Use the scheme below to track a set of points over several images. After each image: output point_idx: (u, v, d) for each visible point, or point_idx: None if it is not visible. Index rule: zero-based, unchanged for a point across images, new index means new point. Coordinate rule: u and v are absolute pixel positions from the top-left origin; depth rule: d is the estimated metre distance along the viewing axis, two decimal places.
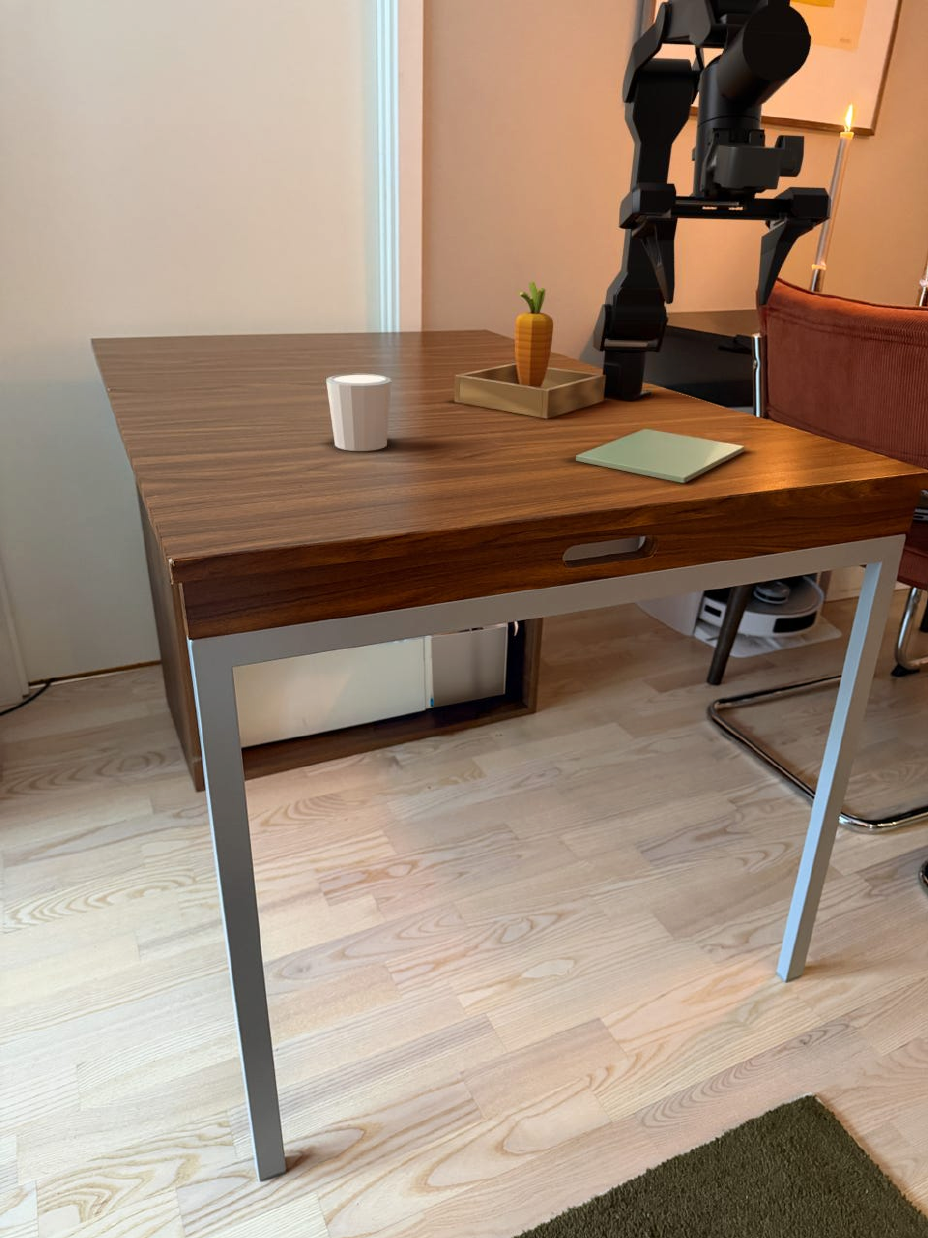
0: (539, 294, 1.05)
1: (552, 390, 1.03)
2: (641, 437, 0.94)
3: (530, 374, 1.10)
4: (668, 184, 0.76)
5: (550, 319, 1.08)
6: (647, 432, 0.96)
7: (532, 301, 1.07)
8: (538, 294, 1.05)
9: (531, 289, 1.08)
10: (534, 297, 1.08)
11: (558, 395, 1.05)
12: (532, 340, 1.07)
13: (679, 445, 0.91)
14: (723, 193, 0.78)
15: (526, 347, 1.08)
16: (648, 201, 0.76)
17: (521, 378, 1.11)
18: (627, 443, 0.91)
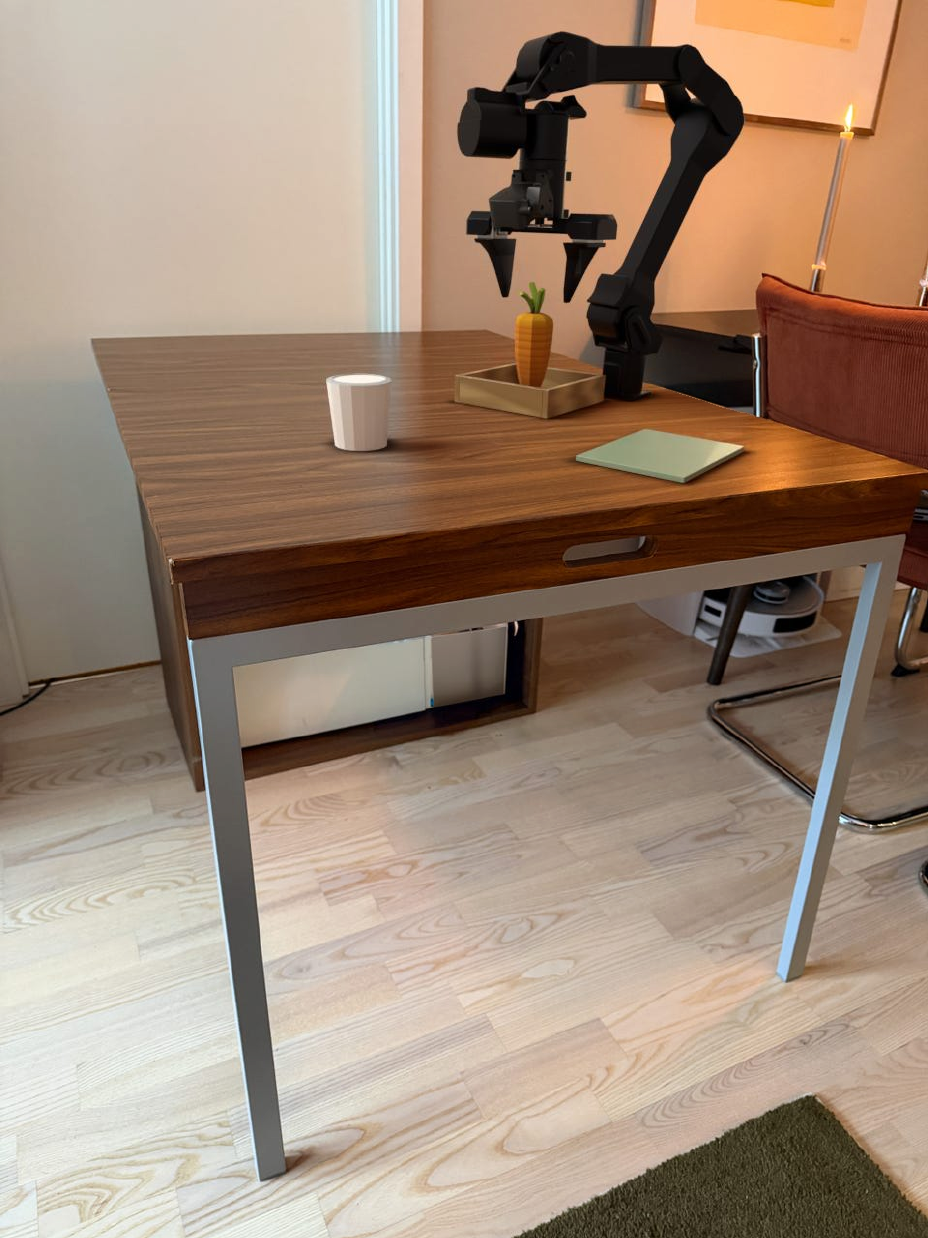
0: (539, 294, 1.05)
1: (552, 390, 1.03)
2: (641, 437, 0.94)
3: (530, 374, 1.10)
4: (489, 212, 1.04)
5: (550, 319, 1.08)
6: (647, 432, 0.96)
7: (532, 301, 1.07)
8: (538, 294, 1.05)
9: (531, 289, 1.08)
10: (534, 297, 1.08)
11: (558, 395, 1.05)
12: (532, 340, 1.07)
13: (679, 445, 0.91)
14: None
15: (526, 347, 1.08)
16: (472, 226, 1.05)
17: (521, 378, 1.11)
18: (627, 443, 0.91)
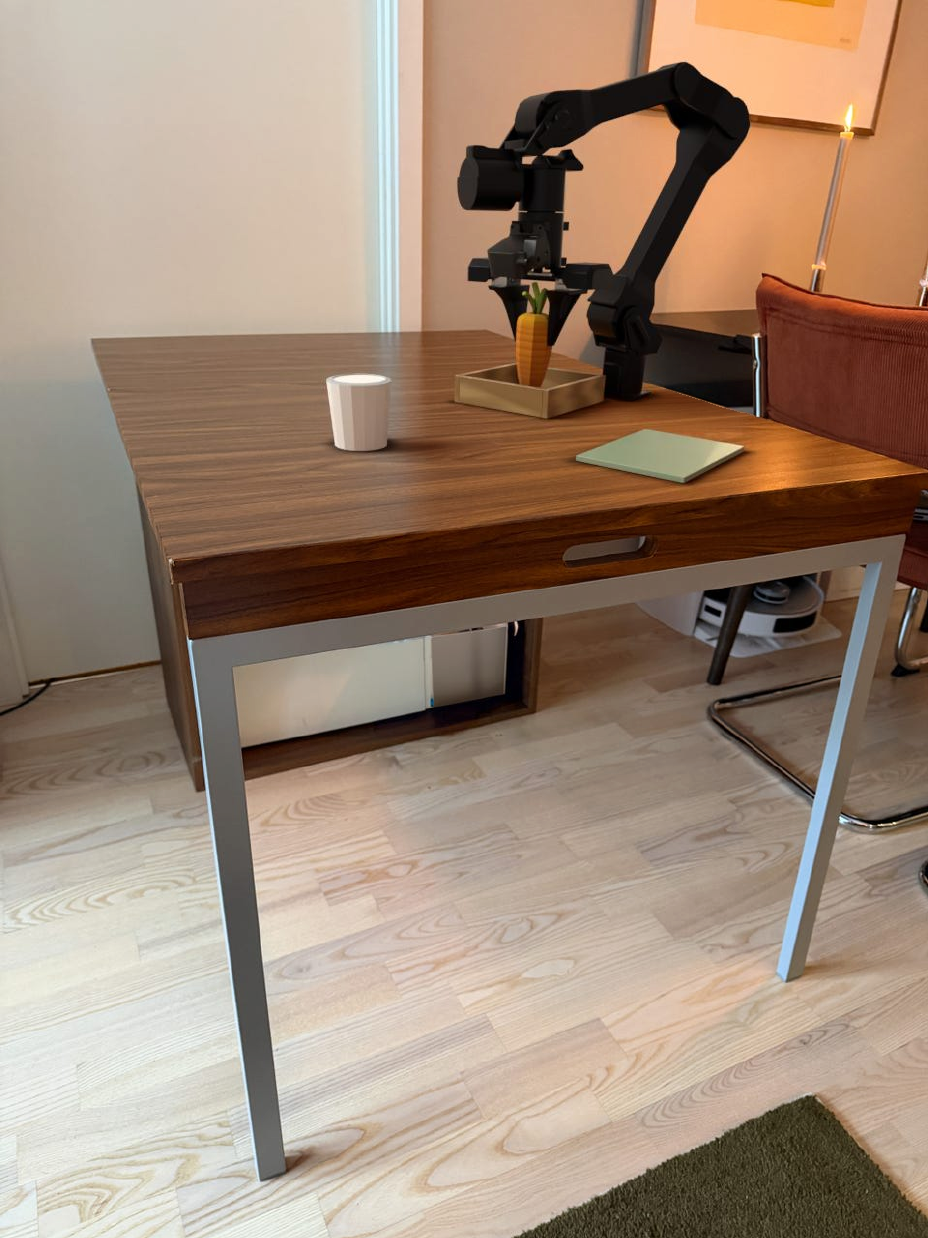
0: (542, 295, 1.05)
1: (552, 390, 1.03)
2: (641, 437, 0.94)
3: (530, 374, 1.10)
4: None
5: None
6: (647, 432, 0.96)
7: (534, 301, 1.07)
8: (541, 295, 1.05)
9: (534, 289, 1.07)
10: (536, 297, 1.08)
11: (558, 395, 1.05)
12: (534, 340, 1.07)
13: (679, 445, 0.91)
14: None
15: (527, 347, 1.08)
16: (473, 274, 1.08)
17: (521, 378, 1.11)
18: (627, 443, 0.91)
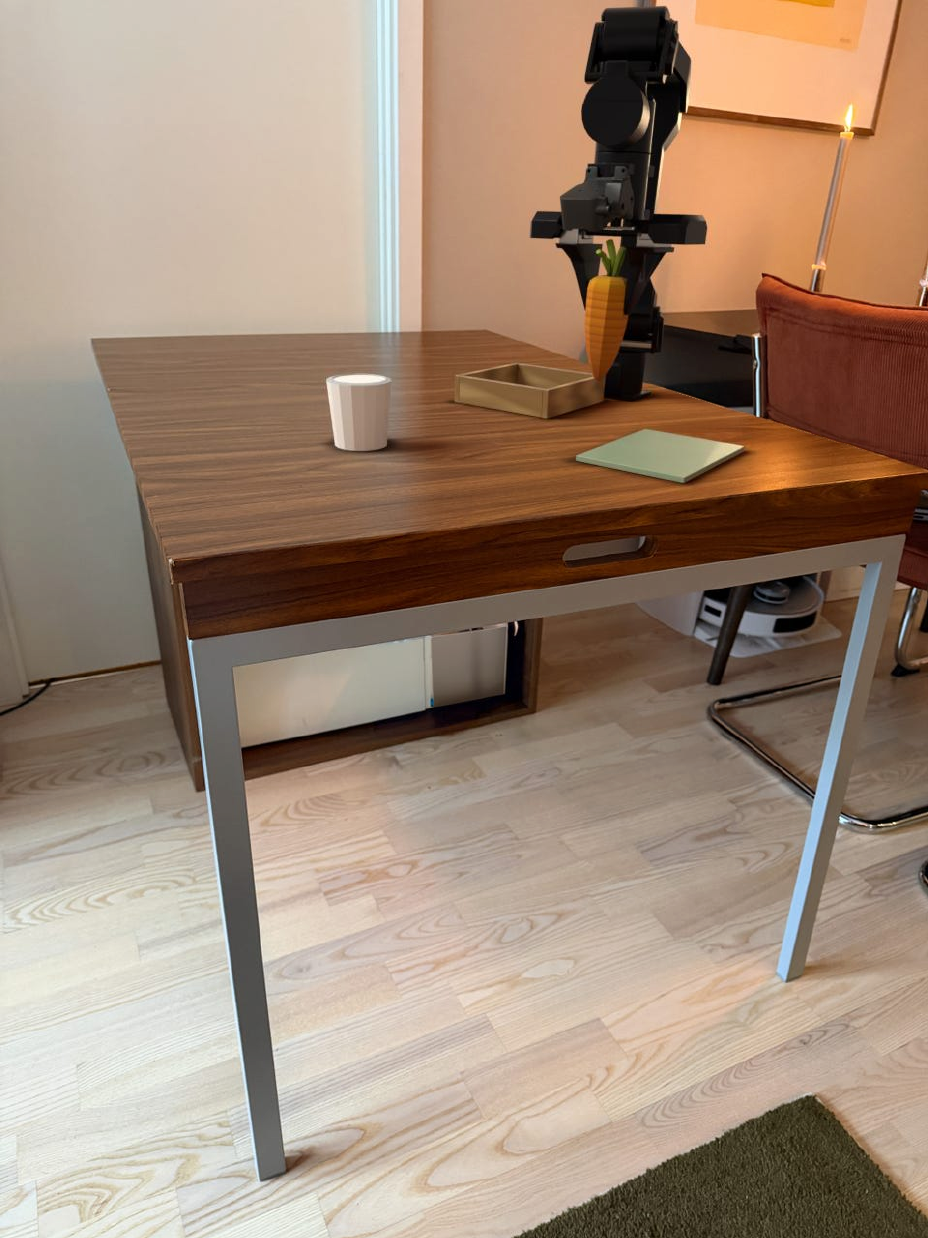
0: (620, 253, 0.89)
1: (552, 390, 1.03)
2: (641, 437, 0.94)
3: (601, 348, 0.94)
4: (557, 212, 0.91)
5: None
6: (647, 432, 0.96)
7: (610, 262, 0.91)
8: (619, 253, 0.89)
9: (609, 247, 0.91)
10: (612, 257, 0.91)
11: (558, 395, 1.05)
12: (608, 307, 0.91)
13: (679, 445, 0.91)
14: None
15: (599, 316, 0.92)
16: (537, 229, 0.92)
17: (590, 353, 0.95)
18: (627, 443, 0.91)
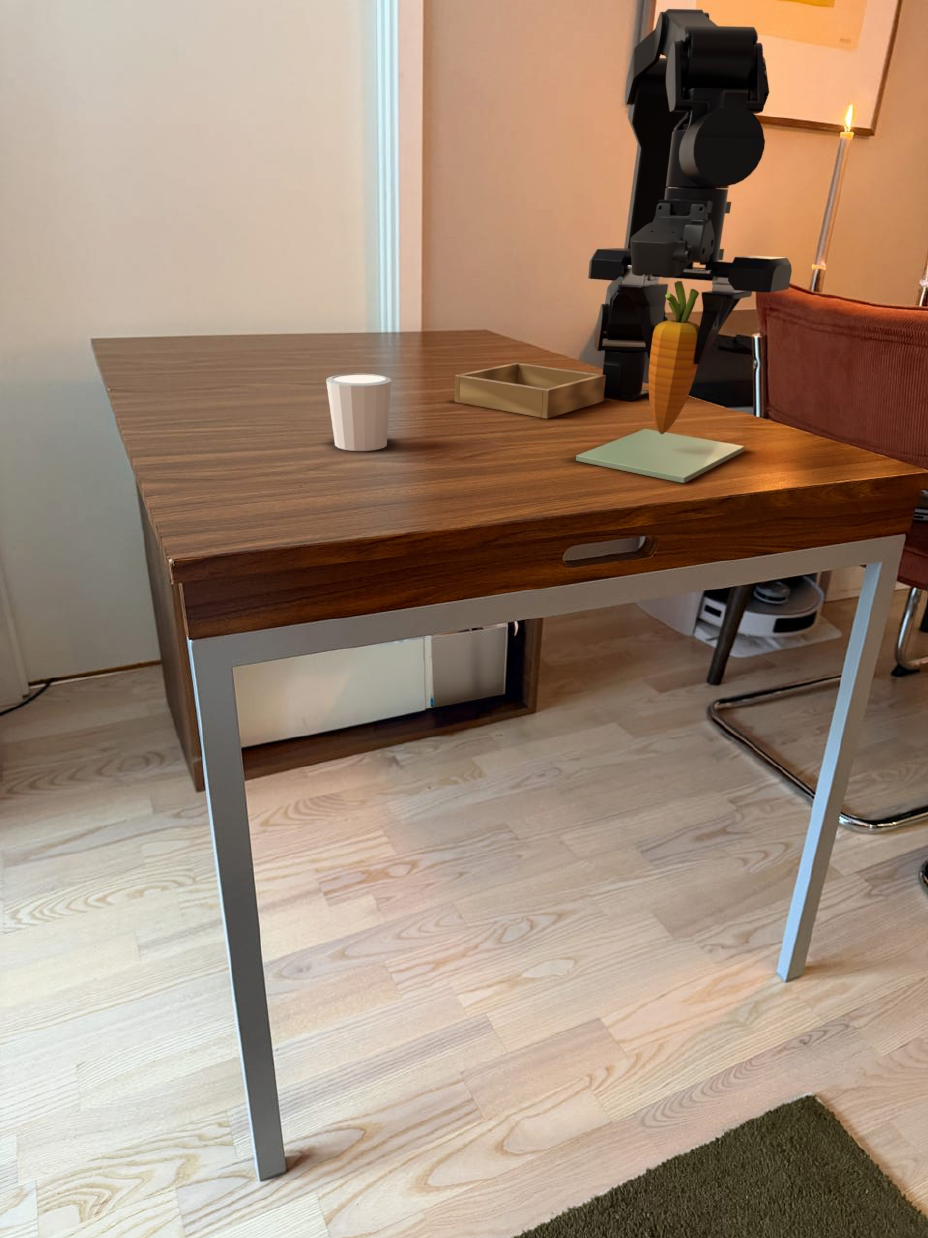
0: (692, 298, 0.80)
1: (552, 390, 1.03)
2: (641, 437, 0.94)
3: (668, 400, 0.85)
4: (621, 252, 0.82)
5: None
6: (647, 432, 0.96)
7: (679, 306, 0.82)
8: (691, 298, 0.80)
9: (678, 290, 0.82)
10: (681, 301, 0.83)
11: (558, 395, 1.05)
12: (678, 357, 0.82)
13: (679, 445, 0.91)
14: None
15: (667, 366, 0.83)
16: (598, 269, 0.83)
17: (655, 405, 0.86)
18: (627, 443, 0.91)
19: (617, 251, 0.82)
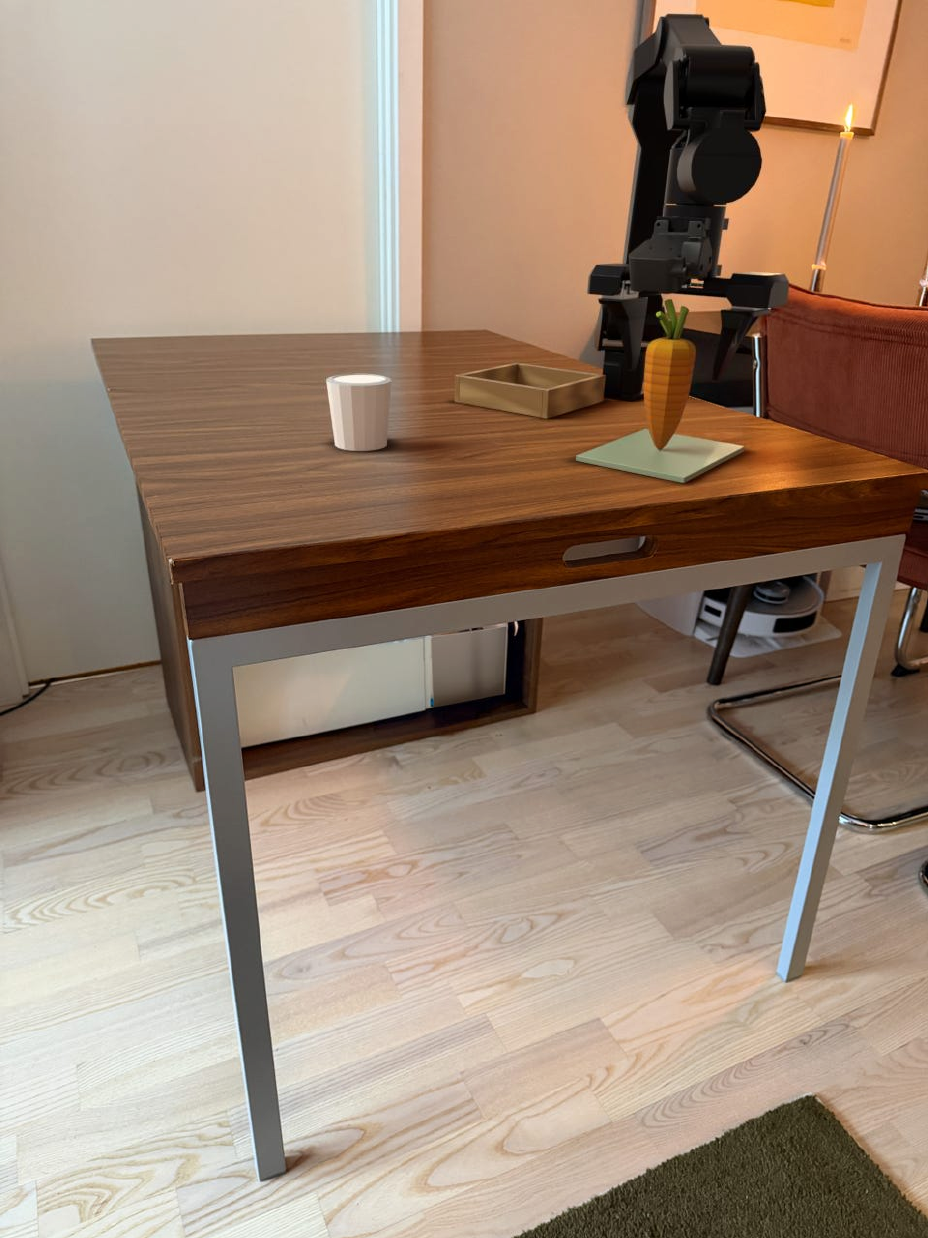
0: (683, 315, 0.81)
1: (552, 390, 1.03)
2: (641, 437, 0.94)
3: (664, 416, 0.86)
4: (620, 267, 0.83)
5: (693, 346, 0.84)
6: (647, 432, 0.96)
7: (670, 324, 0.83)
8: (681, 315, 0.81)
9: (668, 308, 0.84)
10: (672, 318, 0.84)
11: (558, 395, 1.05)
12: (671, 373, 0.83)
13: (679, 445, 0.91)
14: None
15: (661, 382, 0.84)
16: (596, 285, 0.84)
17: (652, 421, 0.87)
18: (627, 443, 0.91)
19: (616, 267, 0.83)
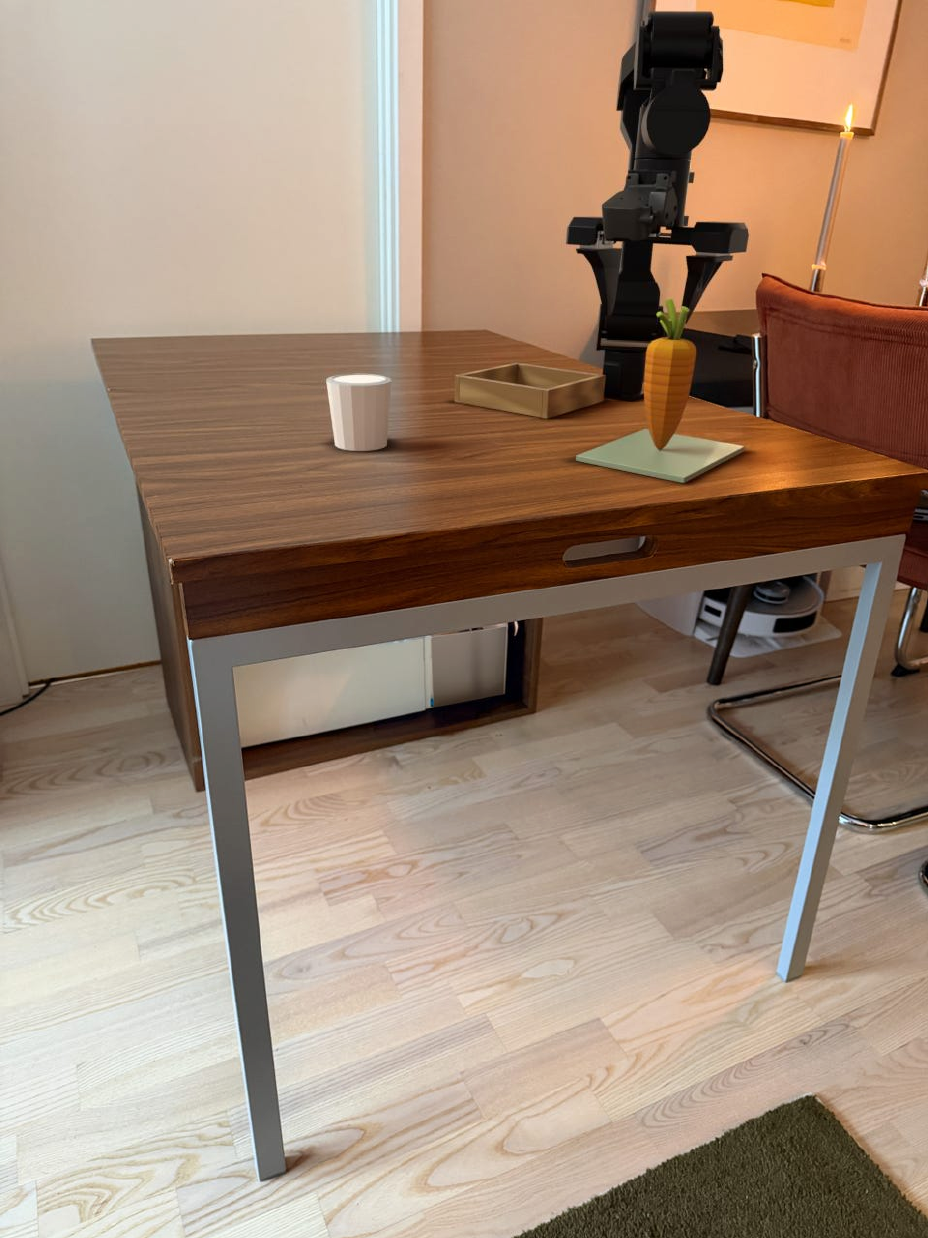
0: (683, 315, 0.81)
1: (552, 390, 1.03)
2: (641, 437, 0.94)
3: (664, 416, 0.86)
4: (595, 219, 0.90)
5: (693, 346, 0.84)
6: (647, 432, 0.96)
7: (671, 324, 0.83)
8: (682, 315, 0.81)
9: (669, 308, 0.84)
10: (672, 318, 0.84)
11: (558, 395, 1.05)
12: (672, 373, 0.83)
13: (679, 445, 0.91)
14: None
15: (662, 382, 0.84)
16: (574, 235, 0.91)
17: (652, 421, 0.87)
18: (627, 443, 0.91)
19: (592, 218, 0.90)
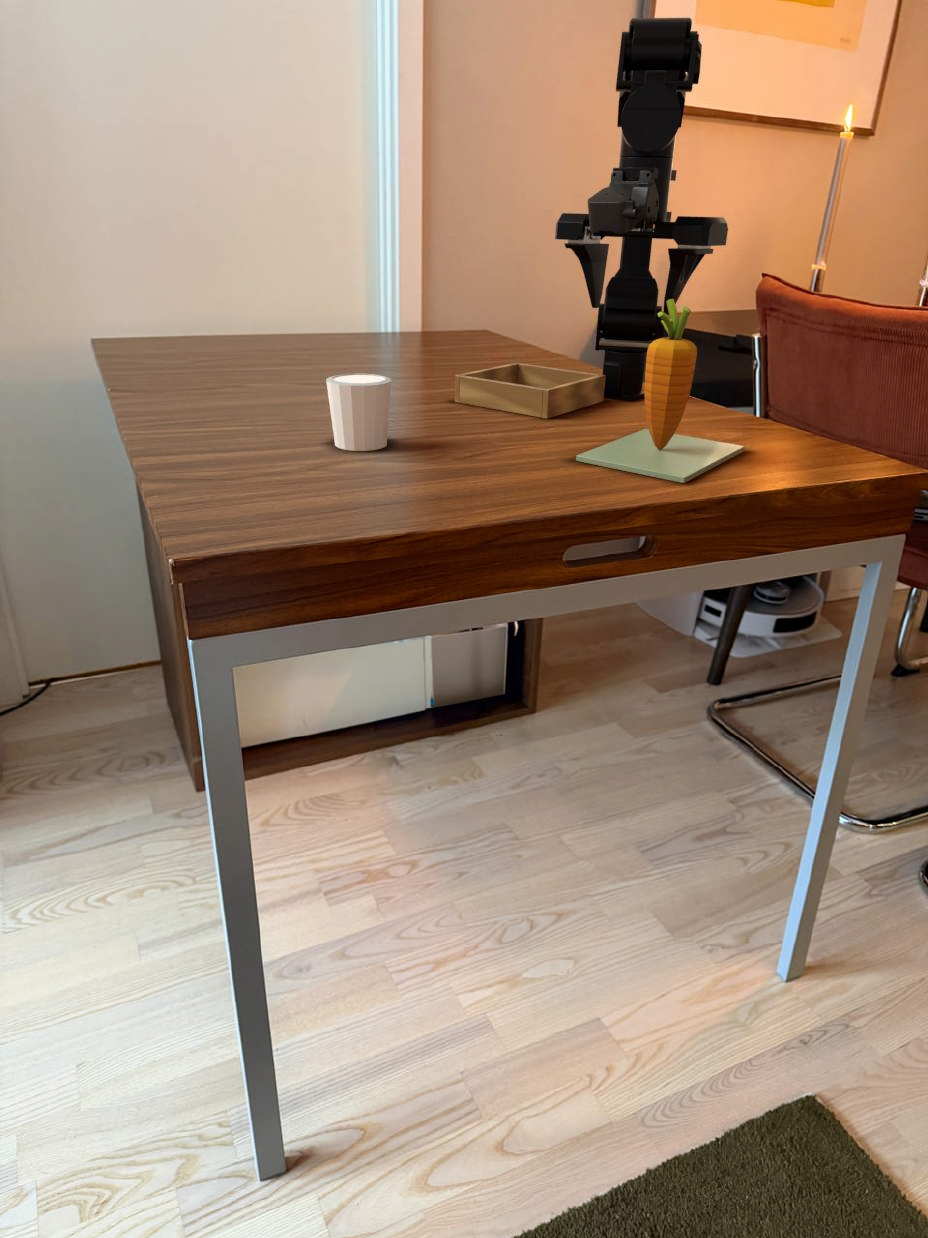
0: (684, 315, 0.81)
1: (552, 390, 1.03)
2: (641, 437, 0.94)
3: (665, 416, 0.86)
4: (582, 214, 0.94)
5: (694, 347, 0.84)
6: (647, 432, 0.96)
7: (672, 324, 0.83)
8: (683, 315, 0.81)
9: (670, 308, 0.84)
10: (673, 318, 0.84)
11: (558, 395, 1.05)
12: (672, 373, 0.83)
13: (679, 445, 0.91)
14: None
15: (662, 382, 0.84)
16: (563, 230, 0.96)
17: (652, 421, 0.87)
18: (627, 443, 0.91)
19: (579, 214, 0.95)
